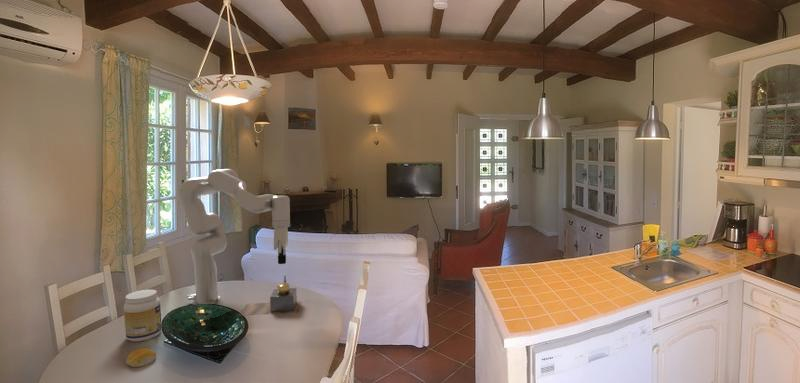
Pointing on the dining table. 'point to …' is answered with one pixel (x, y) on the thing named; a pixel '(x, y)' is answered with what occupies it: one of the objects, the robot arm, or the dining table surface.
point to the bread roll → (140, 357)
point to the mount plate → (264, 309)
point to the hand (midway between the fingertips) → (282, 263)
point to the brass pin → (283, 288)
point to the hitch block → (283, 301)
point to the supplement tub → (142, 315)
